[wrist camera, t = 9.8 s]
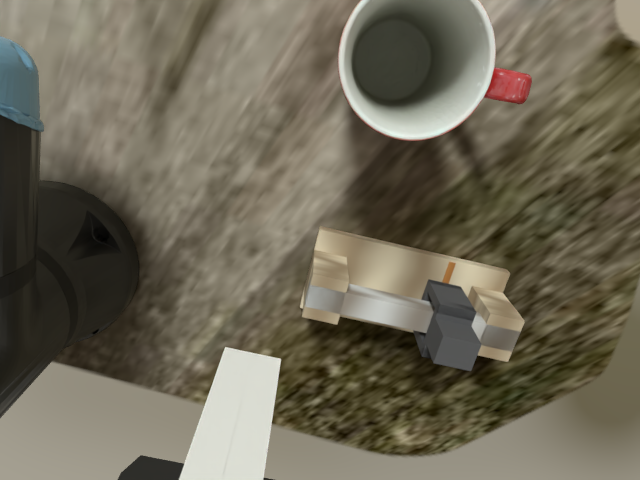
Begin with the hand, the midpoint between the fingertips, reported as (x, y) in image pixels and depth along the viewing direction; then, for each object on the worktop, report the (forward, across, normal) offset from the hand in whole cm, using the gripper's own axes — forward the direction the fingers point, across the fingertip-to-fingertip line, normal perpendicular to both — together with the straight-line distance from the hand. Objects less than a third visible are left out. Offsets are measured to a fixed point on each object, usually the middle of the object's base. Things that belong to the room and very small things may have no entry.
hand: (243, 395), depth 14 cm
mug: (+33, +7, +10) cm, 35 cm away
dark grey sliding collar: (+29, +15, -9) cm, 34 cm away
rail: (+32, +12, -9) cm, 36 cm away
